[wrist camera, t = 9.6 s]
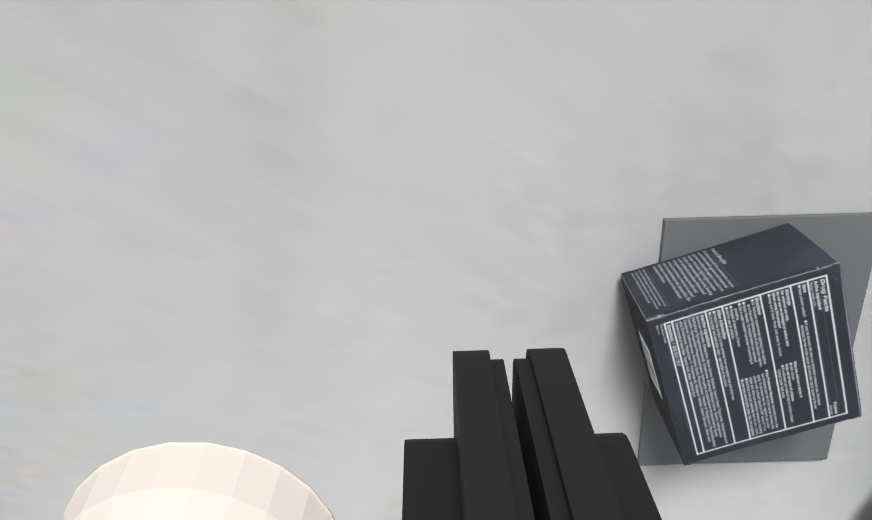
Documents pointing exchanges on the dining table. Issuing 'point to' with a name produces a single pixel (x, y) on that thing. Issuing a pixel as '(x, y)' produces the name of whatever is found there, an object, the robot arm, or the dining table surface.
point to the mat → (858, 252)
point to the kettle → (193, 487)
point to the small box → (745, 341)
